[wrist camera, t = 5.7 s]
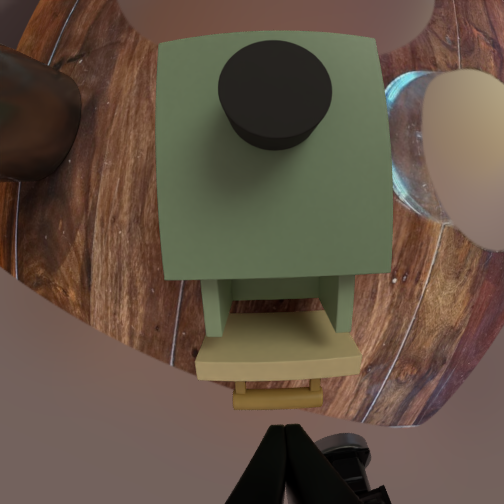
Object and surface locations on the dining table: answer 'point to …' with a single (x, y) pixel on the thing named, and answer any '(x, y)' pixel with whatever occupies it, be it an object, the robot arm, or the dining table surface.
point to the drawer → (278, 339)
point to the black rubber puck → (274, 93)
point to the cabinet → (272, 170)
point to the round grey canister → (34, 117)
